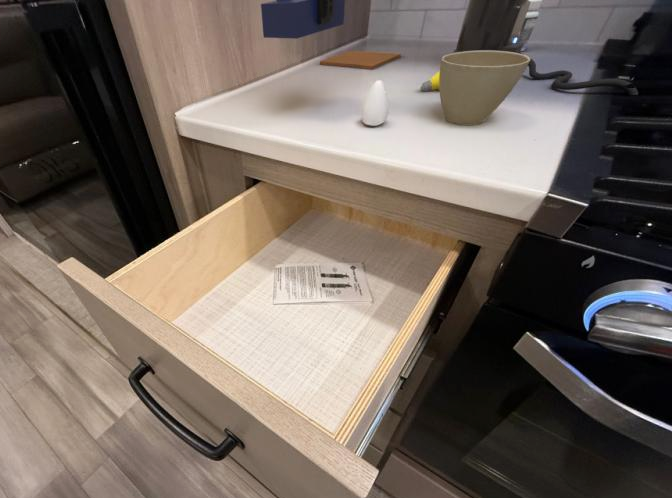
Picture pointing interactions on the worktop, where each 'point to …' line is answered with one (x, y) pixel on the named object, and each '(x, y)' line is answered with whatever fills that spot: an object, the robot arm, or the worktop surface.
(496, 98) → the flower pot
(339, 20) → the navy rectangular block
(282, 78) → the worktop surface
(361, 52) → the mat
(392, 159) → the worktop surface
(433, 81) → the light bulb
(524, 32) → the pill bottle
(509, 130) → the worktop surface
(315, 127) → the worktop surface
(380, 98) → the egg
